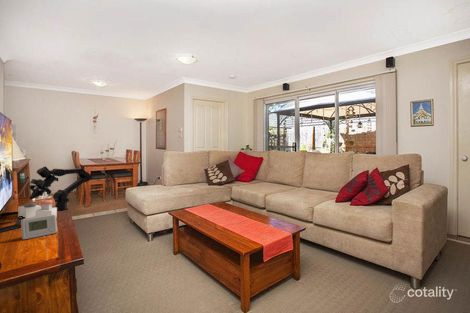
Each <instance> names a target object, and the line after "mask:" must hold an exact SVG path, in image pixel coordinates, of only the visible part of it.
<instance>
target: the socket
mask: <svg viewBox="0 0 470 313" xmlns="http://www.w3.org/2000/svg"><path fill="white" fill-rule="evenodd" d="M40 208H41V205H37V204H36V206H34V207H24V205H21V206H18V209H17V210H18V212H17V214H18V215H17V216H18V217H19V216H23V217H25V218H24V219H27V218H32V217H35V214H36V210H38V209H40ZM19 218H20V217H19Z"/></svg>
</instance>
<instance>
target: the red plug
mask: <svg viewBox="0 0 470 313" xmlns="http://www.w3.org/2000/svg"><path fill="white" fill-rule="evenodd" d="M53 201H54V200H52V199H51V200H50V199H49V200H47V199H45V200H41V201H40V204H41V205H40V206H41V210H50V209H52V208H53Z"/></svg>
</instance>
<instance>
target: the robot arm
mask: <svg viewBox="0 0 470 313" xmlns="http://www.w3.org/2000/svg"><path fill="white" fill-rule="evenodd" d="M36 174H38V175H39V176H40V177H41V178H42V179H41V178H40V179H39V178H38V179H35V178H32V179H31V181H30V182H29V183H30V184H29V185H28V186H27V188H28V189H29V190H30V191H31V192H32V193H31V194H30V196H29V200H33V199H37V198H38V197H40V196H43V195H45V193H46V195H51V194H52V190H51V189H50V187H52V184H53V183H54V182H59V180H60V179H59V177H63V176H66V175H71V174H77V175H78V176H79V177H78V179H77V180H75V181H74V182H72V183H71V184H70V185H68V186H67V187H65V188H64V189H58V190H56V191H55V192H54V194H53V195H52V198H53V201H54V202H55V203H56V204H55V207H57V212H58V211H59V212H60V211H61V212H62V211H66V210H69V208H67V207H68V203H69V201H70V198H68V196H69V194H70V193H72V192H73V191H74V190H76V189H77V188H78V187H81V185H82V184H84V183H87V182H90V181H91V180H92V179H93V176H92V174H91V173H89V172H87V171H86V170H85V169H83V168H80V167H78V168H68V169H67V168H66V169H64V168H63V169H62V168H52V170H51V169H50V170H49V168H48V167H47V166H43V167H41V168H39V169H37V170H36Z"/></svg>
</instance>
